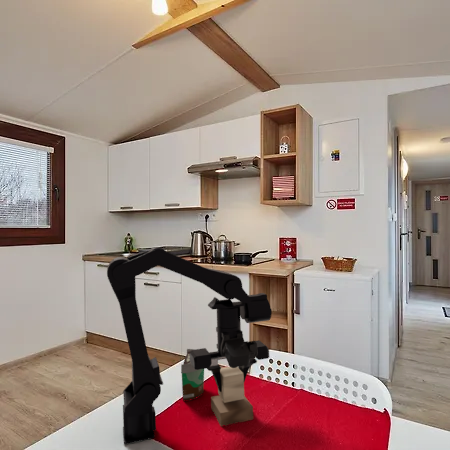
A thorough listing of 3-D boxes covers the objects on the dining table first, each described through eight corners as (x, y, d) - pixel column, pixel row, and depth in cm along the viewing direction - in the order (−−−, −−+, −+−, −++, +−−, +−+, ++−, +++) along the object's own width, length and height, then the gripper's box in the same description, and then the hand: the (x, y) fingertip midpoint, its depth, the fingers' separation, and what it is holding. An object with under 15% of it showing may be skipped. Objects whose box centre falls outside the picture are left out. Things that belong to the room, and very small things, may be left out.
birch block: (218, 393, 86) (217, 368, 86) (237, 389, 87) (236, 365, 87) (224, 402, 81) (223, 377, 81) (244, 398, 83) (243, 373, 83)
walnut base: (220, 426, 79) (220, 413, 79) (211, 409, 87) (210, 397, 87) (253, 419, 82) (252, 406, 82) (241, 402, 89) (240, 391, 89)
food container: (205, 403, 90) (204, 364, 90) (182, 404, 90) (181, 365, 90) (209, 381, 102) (208, 347, 102) (188, 382, 102) (187, 348, 102)
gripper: (199, 340, 74) (201, 413, 74) (278, 329, 80) (280, 397, 80) (188, 326, 84) (190, 390, 84) (259, 317, 90) (260, 377, 90)
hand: (230, 389), depth 84 cm, fingers closed on birch block, 5 cm apart
